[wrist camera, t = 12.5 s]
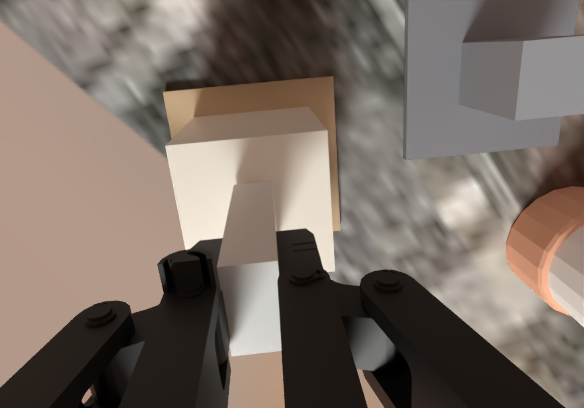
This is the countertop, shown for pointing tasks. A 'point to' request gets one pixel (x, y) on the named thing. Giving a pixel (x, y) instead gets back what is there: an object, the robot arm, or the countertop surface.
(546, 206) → the pepper shaker
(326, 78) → the maple post
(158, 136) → the countertop surface
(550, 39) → the square plate with knob
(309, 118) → the cream cube
